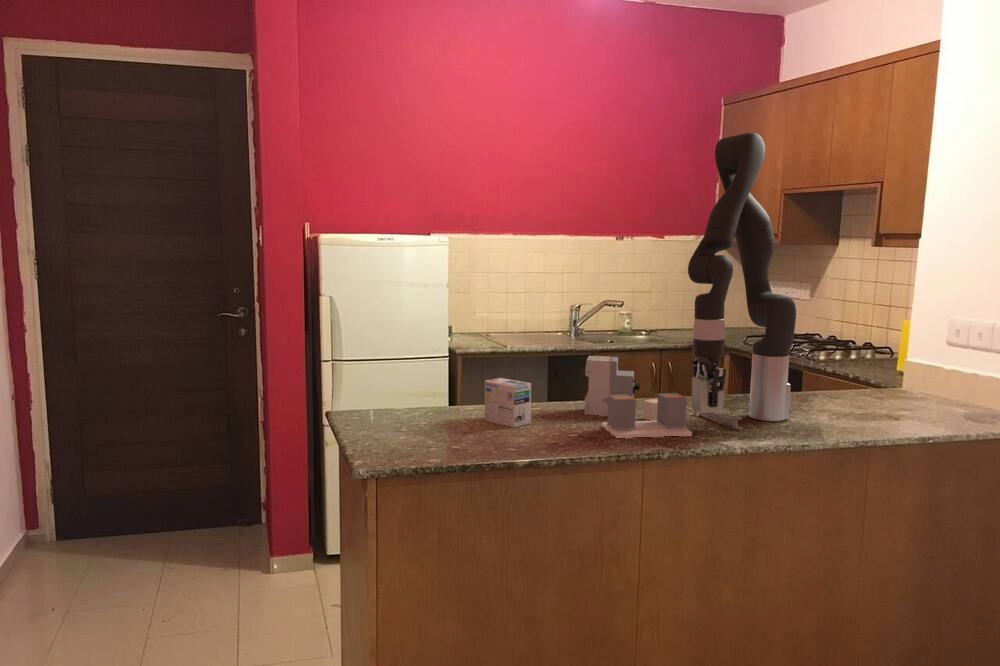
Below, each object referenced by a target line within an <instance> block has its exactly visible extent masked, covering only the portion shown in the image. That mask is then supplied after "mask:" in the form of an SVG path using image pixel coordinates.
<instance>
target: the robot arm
mask: <svg viewBox="0 0 1000 666" xmlns="http://www.w3.org/2000/svg"><path fill="white" fill-rule="evenodd" d="M765 145H766V144H765V142H764V140H763V138H762V137H761V136H760V134H758V133H756V132H745V133H741V134H736V135H731V136H727V137H723V138H720V139H719V140H718V141H717V143H716V144H715V147H714V158H715V159H714V160H715V166H716V168H717V171H718V175H719V178H720V181H721V184H722V187H723V190H724V193H722V195H721V196H720V197H719V199H718V200H717V202H716V203H715V205H714V206H713V208H712V209H711V211H710V213H709V217H708V220H707V224H706V226H705V231H704V235H703V237H702V239H701V240H700V242H699V243H698V245H697V247H696V249H695V251H694V252H693V254H692V255H691V257H690V260H689V262H688V265H687V274H688V277H689V280H690V281H691V282H693V283H695V284H700V285H701V284H702V285H703V284H704V285H712V286H711V288H710V290H709V291H708V292H707V293H706V292H705V293H701V294H698V295H696V296H695V297H694V298H695V299H694V320H693V327H692V329H693V331H692V355H693V356H694V357H697V358H696V359H692V360H691V369H692V372H691V373H692V377H705V380H706V382H707V383H708V391H709V392H708V406H709V407H717V406H718V392H719V391H723V388H724V389H725V381H726V380H725V379H726V373H727V369H726V367H721V365H720V358H722V357H724V356H725V343H726V325H725V302H726V298H727V295H728V290H729V287H730V283H731V281H732V277H733V273H734V266H733V262H732V261H731V259H730V257H728V256H727V255H722V254H717V253H720V252H722V251H726V250H728V249H730V248H732V246H733V243H734V240H735V242H736V246H737V249H738V253H739V254H738V255H739V258H740V263H741V268H742V269H741V270H742V274H743V280H744V287H745V295H746V296H745V298H746V306H747V313H748V316H749V318H750V320H751V322H752V323H753V324H754V325H756V326H758V327H761V328H765V331H764V332H765V333H764V337H763V338H762V339H760V340H757V341H755V342H753V344H752V352H751V353H752V355H751V371H750V372H751V373H750V375H751V376H750V390H749V406H748V407H749V408H748V412H749V413H748V417H750V418H751V419H754V420H758V421H759V420H760V421H765V422H766V421H767V422H783V421H784V420H789V417H790V405H791V404H790V403H791V402H790V401H791V385H792V384H790V383H789V382H788V380H789V365H790V350H791V348H792V346H793V342H794V338H795V337H794V336H795V330H796V321H797V307H796V306H797V305H796V303H795V302H794V300H793V299H794V298H792V297H791V296H789V295H786V294H779V293H773V292H772V288H771V285H770V280H769V267H770V264H771V260H772V257H773V254H774V251H775V245H776V244H775V235H774V231H773V226H772V221H771V217H770V216H769V214H768V212H767V211H766V210H765V209H764V207H763V206H762V205H761V203H759V201H757V200H756V198H755V197H754V196H753V195H752V193H751V190H752V188H753V185H754V184H755V181H756V179H757V177H758V174H759V173H760V170H761V168H762V165H763V163H764V159H765V156H766V146H765ZM734 238H735V239H734ZM709 378H713V379H709ZM712 382H713V383H712ZM719 382H720V386H719ZM711 383H712V384H711Z"/></svg>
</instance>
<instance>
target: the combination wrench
mask: <svg viewBox="0 0 1000 666" xmlns="http://www.w3.org/2000/svg"><path fill="white" fill-rule="evenodd" d="M693 411H694V414H695V415H696V414H699V413H700V412H698V411H696V410H694V409H693ZM699 415H702V416H705V417H708V418H711V419H714V420H717V421H720V422H722V423H726V424H728V425H730V426H731V427H732V428H734V429H737V430H740V431H741V430H742V429H744V427H742V426H739V424H738V423H739V420H742V417H740V416H739V415H734V416H733V417H732V418H730V417H728V416H725V415H722V414H719V413H718V412H709V413H700V414H699ZM699 415H698V416H699ZM734 429H733V430H734ZM737 430H736V431H737Z"/></svg>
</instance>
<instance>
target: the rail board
mask: <svg viewBox="0 0 1000 666" xmlns="http://www.w3.org/2000/svg"><path fill="white" fill-rule="evenodd" d="M657 399H658V405H657V421H648V420H636V410H637V409H636V407H637V404H636V403H637V402H636V401H637V400H636V398H635V397H634V396H633V397H631V396H629V395H628V394H626V395H608V417H607V419H606V420H607V422H606V421H603V422H601V427H602V428H603V427H604V428H605V429H604V428H603V429H604V430H606V431H607V432H608V431H609V432H610V433H611V435H612V436H613V435H614V436H615V437H616V438H615V437H614V436H613V437H614V438H615V439H617V438H625V439H633V438H632V437H652V438H665V437H664V436H679V437H693V431H691V430H690V429H689V428H687V425H686V418H687V417H686V415H687V397H686V396H685V395H681V394H679V393H677V392H672V393H671V392H670V393H669V392H667V393H657ZM609 432H608V433H609ZM610 433H609V434H610ZM660 436H661V437H660Z"/></svg>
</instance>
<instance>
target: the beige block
mask: <svg viewBox="0 0 1000 666" xmlns="http://www.w3.org/2000/svg"><path fill="white" fill-rule="evenodd" d="M657 405H658V398H655V399H645V400H644V401H643V420H646V419H647V420H646V421H648V420H650V421H657Z"/></svg>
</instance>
